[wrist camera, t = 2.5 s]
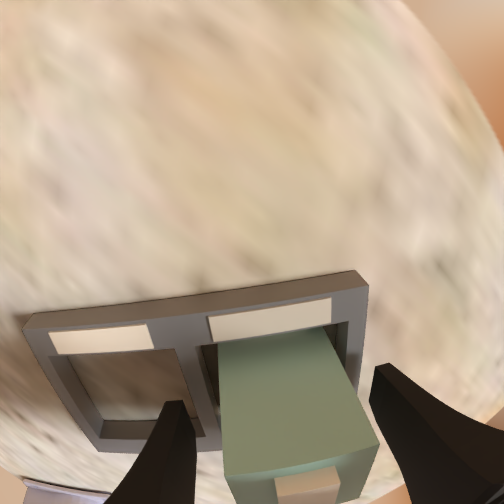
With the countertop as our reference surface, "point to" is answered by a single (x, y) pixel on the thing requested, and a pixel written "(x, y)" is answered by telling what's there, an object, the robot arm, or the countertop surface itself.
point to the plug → (291, 421)
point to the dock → (192, 343)
